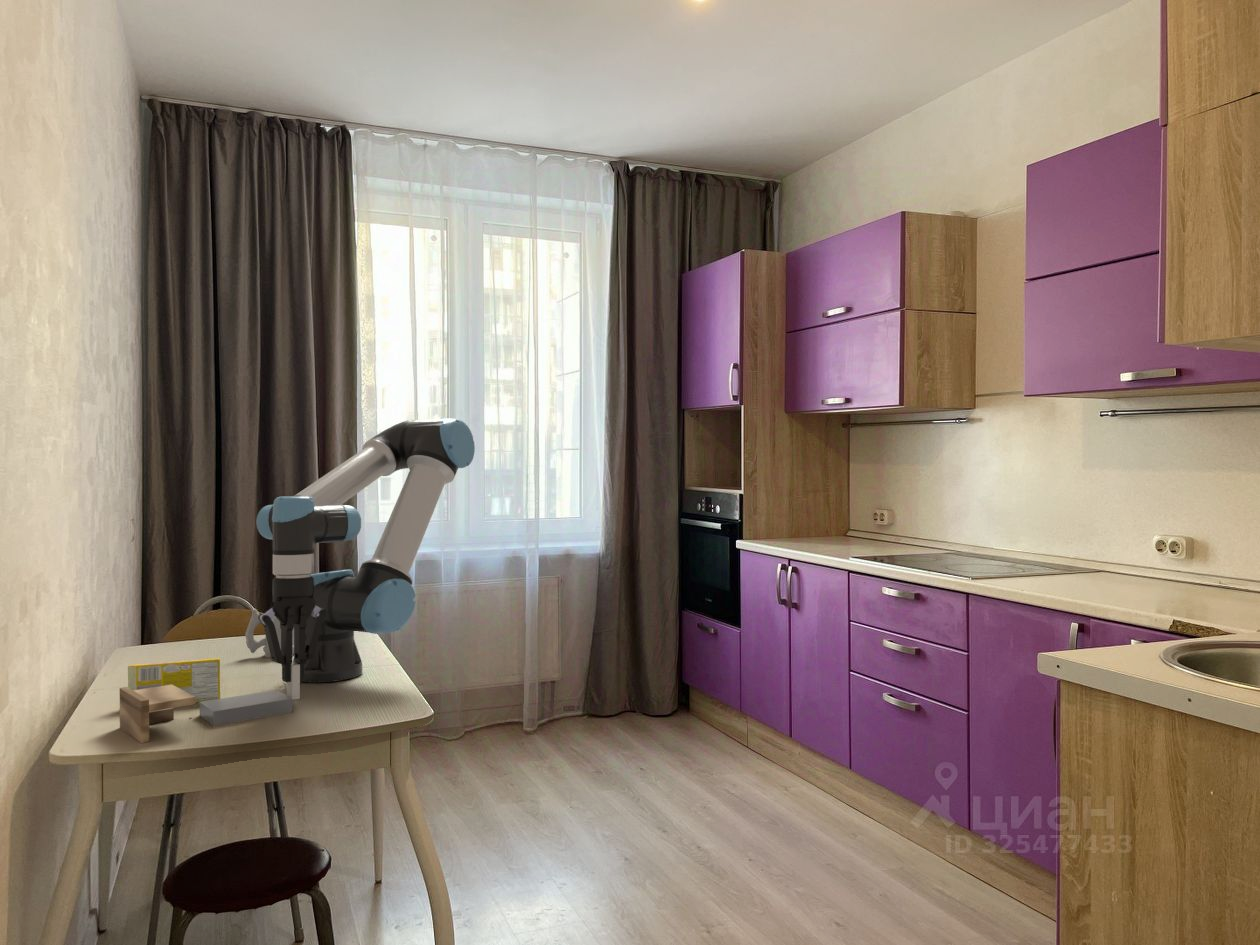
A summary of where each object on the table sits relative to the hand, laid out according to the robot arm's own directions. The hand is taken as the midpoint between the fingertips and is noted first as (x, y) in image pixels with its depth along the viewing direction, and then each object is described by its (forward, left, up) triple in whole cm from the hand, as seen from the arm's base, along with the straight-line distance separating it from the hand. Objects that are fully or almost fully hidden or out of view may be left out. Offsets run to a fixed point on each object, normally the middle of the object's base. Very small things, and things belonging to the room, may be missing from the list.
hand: (293, 697), depth 175 cm
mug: (-16, -51, -2) cm, 54 cm away
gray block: (+9, 0, -2) cm, 9 cm away
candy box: (+16, -18, -2) cm, 24 cm away
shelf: (+24, 0, -1) cm, 24 cm away
